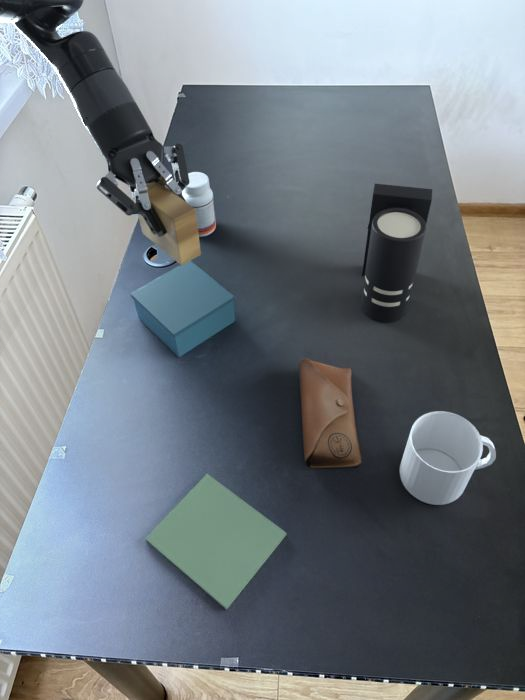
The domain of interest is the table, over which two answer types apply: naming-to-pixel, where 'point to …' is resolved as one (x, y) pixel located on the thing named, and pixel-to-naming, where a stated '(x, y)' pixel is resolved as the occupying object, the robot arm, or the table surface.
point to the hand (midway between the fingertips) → (175, 227)
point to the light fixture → (393, 249)
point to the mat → (216, 540)
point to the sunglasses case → (328, 416)
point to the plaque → (173, 224)
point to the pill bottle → (201, 202)
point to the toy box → (184, 307)
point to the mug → (442, 457)
